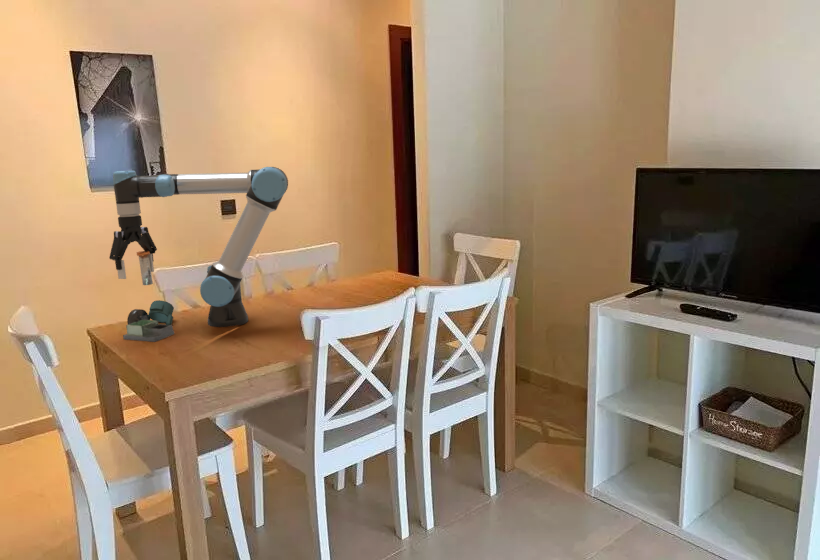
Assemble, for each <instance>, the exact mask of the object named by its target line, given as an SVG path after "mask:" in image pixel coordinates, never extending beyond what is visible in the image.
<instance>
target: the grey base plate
mask: <svg viewBox="0 0 820 560" xmlns="http://www.w3.org/2000/svg"><path fill="white" fill-rule="evenodd" d="M125 326H126V334H123V335H122V336H123V340H127V341H128V340H131V341H141V342H150V343H151V342H152V343H156V342H159V341H160V340H161V341H162V340H163V339H165V338H168V337H171V336H173V335H175V330H174V329H173V326H174V325H173V324H171V325H166V324H162V323H161V324H159V322H158V321H155V320H152V319H150V320H140V321H137V322H134V323H131V324H128V323H127V324H126V325H125Z"/></svg>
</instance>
